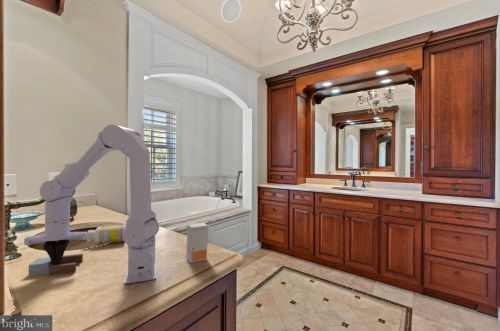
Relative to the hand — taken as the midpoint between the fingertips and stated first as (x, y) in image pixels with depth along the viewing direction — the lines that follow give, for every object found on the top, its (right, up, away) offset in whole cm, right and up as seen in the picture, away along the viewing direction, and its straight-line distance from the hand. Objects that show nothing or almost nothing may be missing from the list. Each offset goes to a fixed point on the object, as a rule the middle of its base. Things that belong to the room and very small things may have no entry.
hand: (57, 265), depth 68 cm
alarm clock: (-42, 0, +56) cm, 70 cm away
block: (-3, -1, -1) cm, 4 cm away
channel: (+2, -1, +1) cm, 3 cm away
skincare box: (+40, -2, +9) cm, 41 cm away
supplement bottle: (+7, +2, +25) cm, 27 cm away
